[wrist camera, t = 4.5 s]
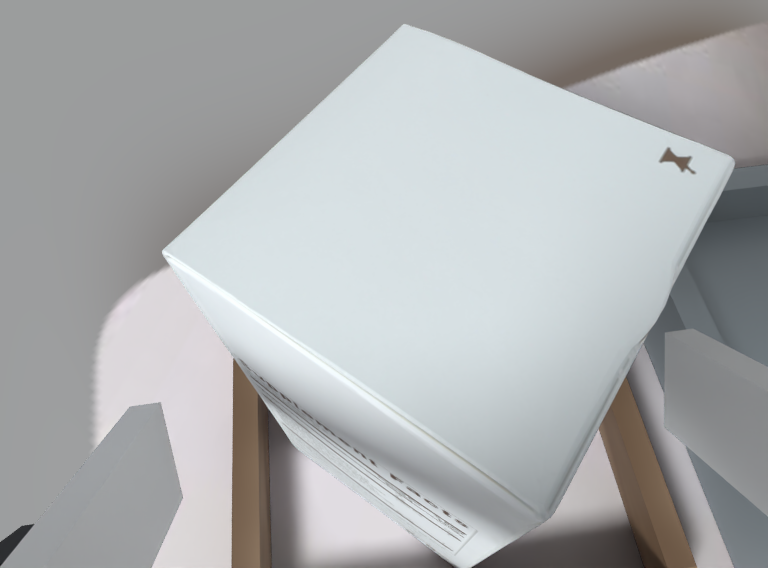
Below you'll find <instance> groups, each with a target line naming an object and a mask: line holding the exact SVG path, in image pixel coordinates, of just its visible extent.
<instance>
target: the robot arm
mask: <svg viewBox="0 0 768 568" xmlns="http://www.w3.org/2000/svg"><path fill="white" fill-rule="evenodd" d="M664 427H665V428H666V429H667V430H668V431H669V432H671V433H672V434H673V435H674V436H675V437H676V438H677V439H679V440H680V441H681V442H682V443H683V444H684V445H686V446H687V447H688V448H689V449H690V450H691V451H693V452H694V453H695V454H696V455H697V456H698V457H699V458H701V459H702V460H703V461H704V462H705V463H706V464H708V465H709V466H710V467H711V468H712V469H713V470H714V471H716V472H717V473H718V474H719V475H720V476H721V477H723V478H724V479H725V480H726V481H727V482H728V483H730V484H731V485H732V486H733V487H734V488H735V489H736V490H738V491H739V492H740V493H741V494H742V495H743V496H745V497H746V498H747V499H748V500H749V501H750V502H751V503H753V504H754V505H755V506H756V507H757V508H758V509H760V510H761V511H762V512H763V513H764V514H765V515H767V516H768V367H767V366H765V365H763V364H761V363H759V362H757V361H755V360H753V359H751V358H749V357H747V356H745V355H744V354H742V353H740V352H738V351H736V350H734V349H732V348H730V347H728V346H726V345H724V344H722V343H720V342H718V341H716V340H714V339H712V338H710V337H709V336H707V335H705V334H703V333H701V332H699V331H697V330H695V329H686V330H679V331H672V332H665V382H664ZM182 499H183V495H182V491H181V487H180V483H179V478H178V474H177V470H176V466H175V461H174V457H173V453H172V449H171V444H170V440H169V436H168V432H167V427H166V423H165V419H164V414H163V410H162V406H161V402H160V403H153V404H146V405H139V406H132V407H129V409H128V410H127V411H126V412H125V413H124V415H123V416H122V417H121V418H120V420H119V421H118V422H117V423H116V425H115V426H114V427H113V428H112V429H111V431H110V432H109V433H108V434H107V436H106V437H105V438H104V439H103V441H102V442H101V443H100V444H99V445H98V447H97V448H96V449H95V450H94V452H93V453H92V454H91V455H90V457H89V458H88V459H87V460H86V462H85V463H84V464H83V465H82V466H81V468H80V469H79V470H78V471H77V473H76V474H75V475H74V476H73V478H72V479H71V480H70V481H69V483H68V484H67V485H66V486H65V487H64V489H63V490H62V491H61V492H60V494H59V495H58V496H57V497H56V498H55V500H54V501H53V502H52V504H51V505H50V506H49V507H48V508H47V510H46V511H45V512H44V513H43V515H42V516H41V517H40V518H39V519H38V521H37V522H36V523H35V524H32V525H25V526H21V527H20V528H19V529H17V530H16V531H15V532H14V533H12V534H11V535H9V536H8V537H7V538H5V539H4V540H3V541H1V542H0V568H152V565H153V563H154V561H155V559H156V556H157V554H158V552H159V550H160V548H161V545H162V543H163V541H164V539H165V536H166V534H167V532H168V530H169V528H170V525H171V523H172V521H173V519H174V516H175V514H176V512H177V510H178V508H179V505H180V503H181V501H182Z"/></svg>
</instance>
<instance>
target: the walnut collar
mask: <svg viewBox="0 0 768 568" xmlns="http://www.w3.org/2000/svg"><path fill="white" fill-rule="evenodd" d="M599 431H600V434H601V437H602V440H603V443H604V446H605V449H606V452H607V455H608V458H609V461H610V464H611V467H612V470H613V473H614V476H615V479H616V482H617V485H618V488H619V492H620V495H621V498H622V501H623V504H624V507H625V510H626V513H627V516H628V519H629V522H630V525H631V528H632V531H633V534H634V537H635V540H636V543H637V546H638V549H639V552H640V555H641V558H642V561H643V564H644V568H697V566H696V563H695V561H694V558H693V555H692V552H691V550H690V547H689V544H688V542H687V539H686V536H685V534H684V531H683V528H682V526H681V523H680V520H679V517H678V515H677V512H676V509H675V507H674V504H673V501H672V499H671V496H670V493H669V491H668V488H667V485H666V483H665V480H664V477H663V474H662V472H661V469H660V466H659V464H658V461H657V458H656V456H655V453H654V450H653V448H652V445H651V442H650V440H649V437H648V434H647V431H646V429H645V426H644V423H643V421H642V418H641V415H640V413H639V410H638V407H637V405H636V402H635V399H634V396H633V394H632V391H631V388H630V386H629V383H628V380H627V378H626V377H625V379H624V381H623V383H622V384H621V386H620V388H619V390H618V392H617V394H616V396H615V398H614V400H613V402H612V404H611V406H610V407H609V409H608V411H607V413H606V415H605V417H604V419H603V421H602V423H601V425H600V427H599ZM232 568H272V563H271V522H270V480H269V439H268V407H267V406H266V404H265V403H264V401H263V400H262V398H261V397H260V395H259V394H258V392H257V391H256V389H255V388H254V387H253V385H252V384H251V382H250V381H249V380H248V378H247V377H246V375H245V374H244V372H243V371H242V369H241V368H240V367H239V365H238V363H237V362H236V361H235V359H234V358H233V464H232Z"/></svg>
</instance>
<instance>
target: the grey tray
mask: <svg viewBox="0 0 768 568" xmlns="http://www.w3.org/2000/svg"><path fill="white" fill-rule="evenodd" d="M686 329H695V330H697V331H699V332H701V333H703V334H705V335H707V336H709V337H710V338H712V339H714V340H716V341H718V342H720V343H722V344H724V345H726V346H728V347H730V348H732V349H734V350H736V351H738V352H740V353H742V354H744V355H745V356H747V357H749V358H751V359H753V360H755V361H757V362H759V363H761V364H763V365H765V366H767V367H768V164H767V165H759V166H751V167H743V168H735V169H733V172H732V174H731V176H730V178H729V179H728V181H727V183H726V185H725V187H724V189H723V191H722V193H721V195H720V197H719V199H718V201H717V203H716V205H715V206H714V208H713V210H712V212H711V214H710V216H709V217H708V219H707V221H706V223H705V225H704V227H703V229H702V231H701V233H700V235H699V237H698V239H697V241H696V243H695V245H694V246H693V248H692V250H691V252H690V254H689V256H688V258H687V260H686V262H685V264H684V266H683V268H682V270H681V271H680V273H679V275H678V277H677V279H676V281H675V283H674V285H673V287H672V289H671V292H670V294H669V297H668V300H667V302H666V305H665V307H664V309H663V310H662V312H661V314H660V316H659V317H658V319H657V321H656V323H655V324H654V325H653V327H652V328H651V330H650V331H649V333H648V335H647V337H646V339H645V341H644V344H645V347H646V349H647V352H648V354H649V357H650V359H651V361H652V364H653V366H654V369H655V371H656V374H657V376H658V379H659V381H660V384H661V386H662V389H663V391H664V382H665V332H672V331H679V330H686ZM685 446H686V445H685ZM686 448H687V451H688V453H689V456H690V458H691V461H692V463H693V466H694V468H695V471H696V473H697V476H698V478H699V481H700V483H701V486H702V488H703V491H704V493H705V496H706V498H707V501H708V503H709V506H710V508H711V511H712V513H713V516H714V518H715V521H716V523H717V526H718V528H719V530H720V533H721V535H722V538H723V540H724V543H725V545H726V548H727V550H728V553H729V555H730V558H731V560H732V563H733V565H734V568H768V516H767V515H765V514H764V513H763V512H762V511H761V510H760V509H758V508H757V507H756V506H755V505H754V504H753V503H751V502H750V501H749V500H748V499H747V498H746V497H745V496H743V495H742V494H741V493H740V492H739V491H738V490H736V489H735V488H734V487H733V486H732V485H731V484H730V483H728V482H727V481H726V480H725V479H724V478H723V477H721V476H720V475H719V474H718V473H717V472H716V471H714V470H713V469H712V468H711V467H710V466H709V465H708V464H706V463H705V462H704V461H703V460H702V459H701V458H699V457H698V456H697V455H696V454H695V453H694V452H693V451H691V450H690V449H689V448H688V447H687V446H686Z"/></svg>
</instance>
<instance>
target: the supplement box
mask: <svg viewBox="0 0 768 568" xmlns="http://www.w3.org/2000/svg"><path fill="white" fill-rule="evenodd" d="M734 166H735V161H734V159H733V158H732V157H731V156H729V155H727V154H725V153H723V152H720V151H718V150H715V149H713V148H710V147H707V146H705V145H702V144H700V143H697V142H694V141H692V140H689V139H686V138H684V137H681V136H679V135H676V134H674V133H671V132H669V131H666V130H663V129H661V128H658V127H656V126H653V125H651V124H648V123H646V122H643V121H641V120H638V119H636V118H633V117H631V116H628V115H626V114H623V113H621V112H618V111H616V110H613V109H611V108H609V107H606V106H604V105H601V104H599V103H596V102H594V101H591V100H589V99H586V98H584V97H581V96H579V95H577V94H574V93H572V92H569V91H567V90H564V89H562V88H560V87H557V86H555V85H553V84H550V83H548V82H545V81H543V80H541V79H538V78H536V77H533V76H531V75H529V74H527V73H525V72H523V71H521V70H518V69H516V68H513V67H511V66H509V65H507V64H505V63H502V62H500V61H498V60H496V59H493V58H491V57H489V56H486V55H484V54H482V53H480V52H478V51H475V50H473V49H471V48H469V47H466V46H464V45H462V44H459V43H457V42H454V41H452V40H449V39H447V38H444V37H441V36H439V35H436V34H433V33H431V32H428V31H425V30H421V29H418V28H416V27H413V26H410V25H407V24H403V25H402V26H401V27H400V28H399V29H398V30H397V31H396V32H395V33H394V34H393V35H392V36H391V37H390V38H389V39H388V40H387V41H386V42H384V43H383V44H382V46H380V47H379V48H378V49H377V50H376V51H375V52H374V53H373V54H372V55H371V56H370V57H369V58H367V59H366V60H365V61H364V62H363V63H362V64H361V65H360V66H359V67H358V68H357V69H356V70H355V71H354V72H353V73H352V74H351V75H350V76H348V77H347V78H346V79H345V80H344V81H343V82H342V83H341V84H340V85H339V86H338V87H337V88H336V89H335V90H334V91H333V92H331V94H329V95H328V96H327V97H326V98H325V99H324V100H323V101H322V102H321V103H320V104H319V105H318V106H317V107H316V108H314V109H313V110H312V111H311V112H310V113H309V114H308V115H307V116H306V117H305V118H304V119H303V120H302V121H301V122H300V123H298V124H297V125H296V127H294V128H293V129H292V130H291V131H290V132H289V133H288V134H287V135H286V136H285V137H284V138H283V139H282V140H280V141H279V142H278V143H277V144H276V145H275V146H274V147H273V148H272V149H271V150H270V151H269V152H268V153H267V154H266V155H265V156H264V157H262V158H261V159H260V160H259V161H258V162H257V163H256V164H255V165H254V166H253V167H252V168H251V169H250V170H249V171H247V172H246V173H245V174H244V175H243V176H242V177H241V178H240V179H239V180H238V181H237V182H236V183H235V184H234V185H233V186H232V187H230V188H229V189H228V190H227V191H226V192H225V193H224V194H223V195H222V196H221V197H220V198H219V199H217V200H216V201H215V202H214V203H213V204H212V205H211V206H210V207H209V208H208V209H207V210H206V211H205V212H204V213H202V214H201V215H200V216H199V217H198V218H197V219H196V220H195V221H194V222H193V223H192V224H191V225H190V226H188V227H187V229H185V230H184V231H183V232H182V233H181V234H180V235H179V236H178V237H177V238H176V239H174V240H173V241H172V242H171V243H170V244H169V245H168V246H167V247H166V248H164V249H163V251H162V254H163V256H164V257H165V259H166V260H167V261H168V263H169V265H170V266H171V268H172V269H173V271H174V272H175V273H176V275H177V276H178V278H179V279H180V281H181V282H182V284H183V285H184V287H185V288H186V290H187V291H188V293H189V294H190V296H191V297H192V299H193V300H194V302H195V303H196V304H197V306H198V307H199V309H200V310H201V312H202V313H203V315H204V316H205V317H206V319H207V320H208V322H209V323H210V325H211V326H212V328H213V329H214V330H215V332H216V333H217V335H218V336H219V338H220V339H221V340H222V342H223V343H224V345H225V346H226V348H227V349H228V351H229V352H230V353H231V355H232V356H233V358H234V359H235V361H236V362H237V363H238V365H239V367H240V368H241V369H242V371H243V372H244V374H245V375H246V377H247V378H248V380H249V381H250V382H251V384H252V385H253V387H254V388H255V389H256V391H257V392H258V394H259V395H260V397H261V398H262V400H263V401H264V403H265V404H266V406H267V407H268V409H269V410H270V411H271V413H272V414H273V416H274V417H275V419H276V420H277V422H278V423H279V425H280V426H281V427H282V429H283V430H284V432H285V433H286V435H287V436H288V438H289V440H290V441H291V443H292V444H293V445H294V447H296V448H297V449H298V450H299V451H301V452H302V453H303V454H304V455H306V456H307V457H308V458H310V459H311V460H312V461H314V462H315V463H316V464H318V465H319V466H320V467H322V468H323V469H324V470H326V471H327V472H328V473H330V474H331V475H332V476H334V477H335V478H336V479H338V480H339V481H340V482H342V483H343V484H344V485H346V486H347V487H348V488H350V489H351V490H352V491H354V492H355V493H356V494H358V495H359V496H360V497H362V498H363V499H364V500H366V501H367V502H368V503H370V504H371V505H372V506H374V507H375V508H376V509H378V510H379V511H380V512H382V513H383V514H384V515H386V516H387V517H388V518H390V519H391V520H392V521H394V522H395V523H396V524H398V525H399V526H400V527H402V528H403V529H404V530H406V531H407V532H408V533H410V534H411V535H412V536H414V537H415V538H416V539H418V540H419V541H420V542H422V543H423V544H424V545H426V546H427V547H428V548H430V549H431V550H432V551H434V552H435V553H436V554H438V555H439V556H440V557H442V558H443V559H444V560H446V561H447V562H449V563H450V564H451V565H453V566H454V567H455V568H471V567H473V566H474V565H476V564H477V563H479V562H481V561H482V560H484V559H486V558H487V557H489V556H490V555H492V554H494V553H495V552H497V551H498V550H500V549H501V548H503V547H505V546H506V545H508V544H510V543H511V542H513V541H515V540H516V539H518V538H520V537H521V536H523V535H524V534H526V533H528V532H529V531H531V530H533V529H534V528H536V527H537V526H539V525H541V524H542V523H544V522H545V521H546V520H548V519H549V518H550V517H551V516H552V515H553V514H554V513H555V511H556V509H557V507H558V505H559V503H560V502H561V500H562V498H563V496H564V494H565V492H566V490H567V488H568V486H569V484H570V483H571V481H572V479H573V477H574V475H575V473H576V471H577V469H578V467H579V465H580V463H581V461H582V459H583V457H584V456H585V454H586V452H587V450H588V448H589V446H590V444H591V442H592V440H593V438H594V436H595V434H596V432H597V430H598V429H599V427H600V425H601V423H602V421H603V419H604V417H605V415H606V413H607V411H608V409H609V407H610V406H611V404H612V402H613V400H614V398H615V396H616V394H617V392H618V390H619V388H620V386H621V384H622V383H623V381H624V379H625V377H626V375H627V373H628V371H629V369H630V367H631V365H632V363H633V362H634V360H635V358H636V356H637V354H638V352H639V350H640V348H641V346H642V344H643V342H644V341H645V339H646V337H647V335H648V333H649V331H650V330H651V328H652V327H653V325H654V324H655V323H656V321H657V319H658V317H659V316H660V314H661V312H662V310H663V309H664V307H665V305H666V302H667V300H668V297H669V294H670V292H671V289H672V287H673V285H674V283H675V281H676V279H677V277H678V275H679V273H680V271H681V270H682V268H683V266H684V264H685V262H686V260H687V258H688V256H689V254H690V252H691V250H692V248H693V246H694V245H695V243H696V241H697V239H698V237H699V235H700V233H701V231H702V229H703V227H704V225H705V223H706V221H707V219H708V217H709V216H710V214H711V212H712V210H713V208H714V206H715V205H716V203H717V201H718V199H719V197H720V195H721V193H722V191H723V189H724V187H725V185H726V183H727V181H728V179H729V178H730V176H731V174H732V172H733V169H734Z"/></svg>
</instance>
